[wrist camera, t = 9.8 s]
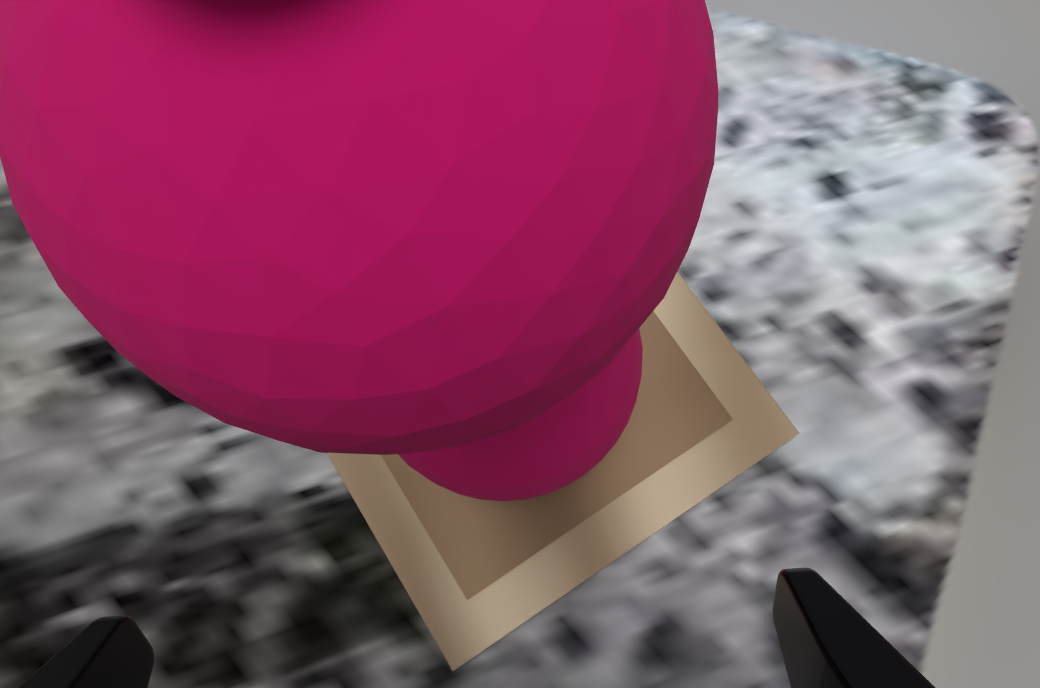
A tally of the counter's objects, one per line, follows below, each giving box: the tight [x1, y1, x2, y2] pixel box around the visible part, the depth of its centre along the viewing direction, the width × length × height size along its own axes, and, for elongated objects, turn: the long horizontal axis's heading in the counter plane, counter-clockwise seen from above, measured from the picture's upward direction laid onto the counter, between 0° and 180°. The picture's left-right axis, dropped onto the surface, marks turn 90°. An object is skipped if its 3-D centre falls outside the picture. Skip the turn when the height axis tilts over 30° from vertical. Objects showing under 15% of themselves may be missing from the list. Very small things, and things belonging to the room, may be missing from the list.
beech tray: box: [327, 272, 799, 671], centre depth 22 cm, size 13×13×1 cm
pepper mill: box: [0, 0, 718, 501], centre depth 12 cm, size 7×7×20 cm
